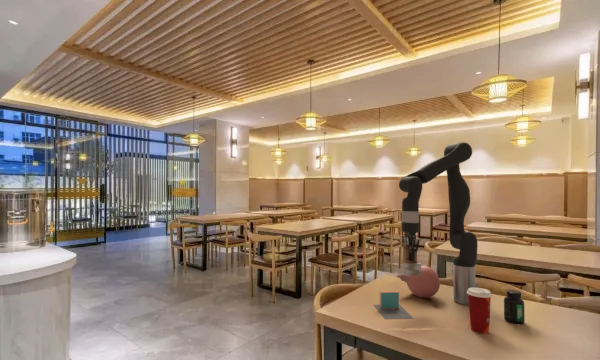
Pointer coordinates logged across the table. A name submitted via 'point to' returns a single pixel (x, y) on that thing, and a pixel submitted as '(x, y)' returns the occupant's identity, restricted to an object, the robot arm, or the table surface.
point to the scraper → (410, 263)
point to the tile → (389, 299)
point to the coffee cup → (479, 309)
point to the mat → (394, 313)
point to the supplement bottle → (514, 308)
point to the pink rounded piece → (422, 282)
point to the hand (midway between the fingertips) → (410, 259)
